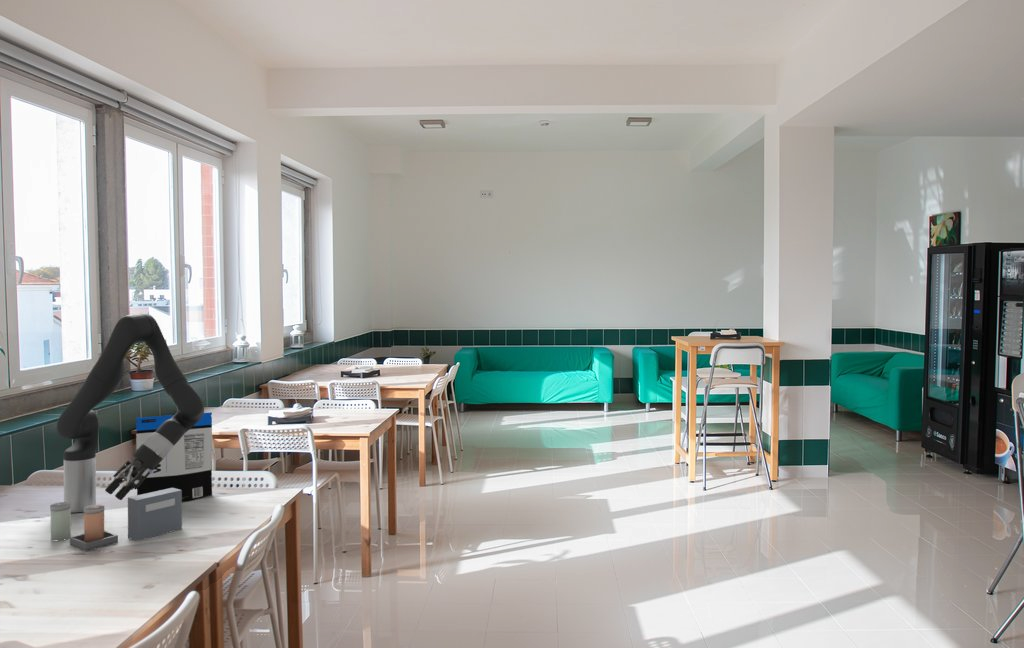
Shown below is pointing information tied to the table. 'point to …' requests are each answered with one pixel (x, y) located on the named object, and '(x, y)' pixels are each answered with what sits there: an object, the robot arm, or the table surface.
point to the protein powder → (180, 459)
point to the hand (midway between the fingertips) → (112, 495)
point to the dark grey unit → (154, 513)
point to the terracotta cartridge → (93, 523)
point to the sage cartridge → (60, 521)
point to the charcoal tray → (79, 541)
